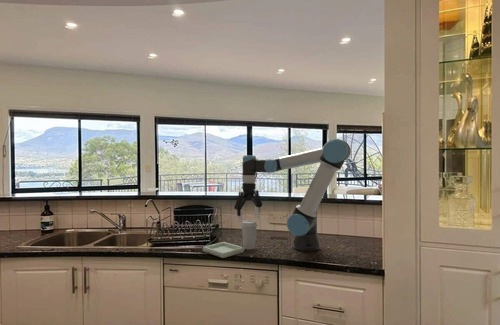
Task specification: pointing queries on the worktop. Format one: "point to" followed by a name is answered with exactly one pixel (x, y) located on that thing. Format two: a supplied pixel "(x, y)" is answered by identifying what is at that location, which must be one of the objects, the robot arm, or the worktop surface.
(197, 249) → the worktop surface
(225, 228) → the worktop surface
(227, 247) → the tray
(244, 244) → the coffee cup
